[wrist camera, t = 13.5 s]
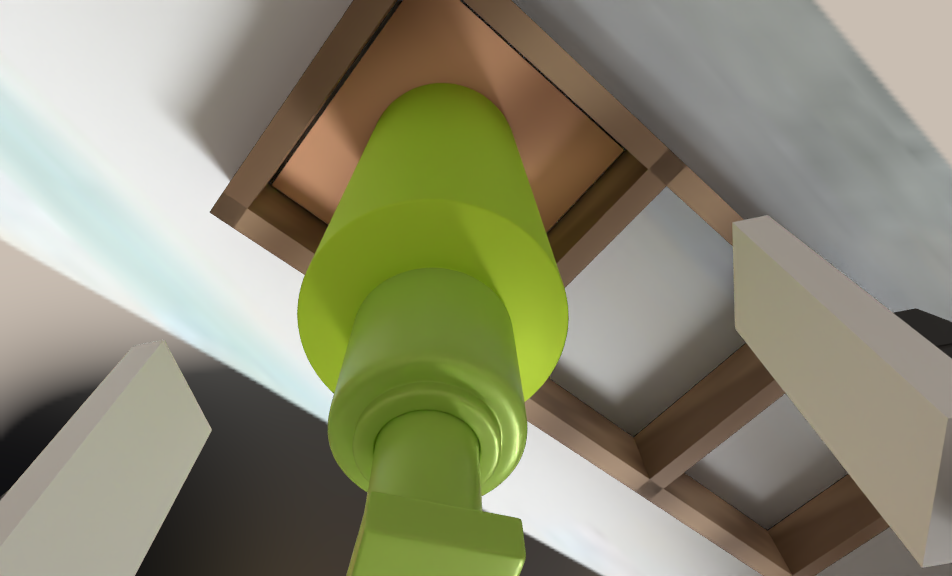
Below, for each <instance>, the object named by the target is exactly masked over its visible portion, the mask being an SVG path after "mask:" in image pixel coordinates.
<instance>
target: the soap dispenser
mask: <svg viewBox="0 0 952 576" xmlns="http://www.w3.org/2000/svg"><path fill="white" fill-rule="evenodd" d="M297 318H298V328H299V334H300V338H301V342H302V345H303V348H304V351H305V353H306V356H307V358H308V360H309V362H310V364H311V366H312V367H313V369H314V370H315V372H316V374H317V375H318V376H319V378H320V379H321V380H322V382H323V383H324V384H325V385H326V386H327V387H328V388H329V389H330V390H331V391H332V392H333V393H334V396H333V400H332V403H331V407H330V412H329V417H328V438H329V444H330V448H331V451H332V453H333V455H334V458H335V460H336V462H337V463H338V465H339V466H340V468H341V469H342V470H343V472H344V473H345V474H346V475H347V476H348V477H349V478H350V479H351V480H352V481H353V482H354V483H355V484H356V485H358V486H359V487H361V488H362V489H363V490H365V491H366V492H368V493H367V500H366V506H365V512H364V516H363V519H362V523H361V526H360V530H359V533H358V537H357V540H356V544H355V547H354V551H353V554H352V558H351V561H350V565H349V568H348V572H347V576H519V574H520V572H521V569H522V567H523V564H524V562H525V559H526V552H525V544H524V535H523V527H522V521H521V519H519V518H515V517H510V516H504V515H499V514H494V513H488V512H483V511H482V497H481V496H483V495H485V494H487V493H488V492H490V491H491V490H493V489H494V488H496V487H497V486H498V485H500V484H501V483H502V482H503V481H504V480H505V479H506V478H507V477H508V476H509V475H510V474H511V473H512V471H513V470H514V469H515V467H516V466H517V464H518V463H519V461H520V459H521V457H522V454H523V452H524V449H525V445H526V439H527V416H526V408H525V401H527V400H528V399H529V398H530V397H531V396H532V395H533V394H535V393H536V392H537V391H538V390H539V388H540V387H541V386H542V385H543V384H544V383H545V381H546V380H547V379H548V377H549V376H550V375H551V373H552V371H553V370H554V368H555V366H556V364H557V363H558V360H559V358H560V356H561V353H562V351H563V348H564V345H565V341H566V336H567V330H568V303H567V297H566V292H565V288H564V285H563V282H562V279H561V276H560V273H559V270H558V267H557V264H556V261H555V258H554V255H553V252H552V249H551V246H550V243H549V240H548V237H547V234H546V231H545V228H544V225H543V222H542V219H541V216H540V213H539V210H538V207H537V204H536V201H535V198H534V195H533V192H532V190H531V187H530V184H529V181H528V178H527V175H526V172H525V169H524V166H523V163H522V160H521V157H520V154H519V151H518V148H517V145H516V142H515V139H514V136H513V133H512V130H511V128H510V126H509V124H508V122H507V120H506V118H505V117H504V115H503V114H502V112H501V111H500V110H499V109H498V108H497V107H496V106H495V105H494V104H493V103H492V102H491V101H490V100H489V99H488V98H486V97H485V96H483V95H482V94H480V93H478V92H477V91H475V90H472V89H470V88H468V87H465V86H461V85H457V84H451V83H433V84H427V85H423V86H420V87H417V88H414V89H412V90H410V91H408V92H406V93H404V94H403V95H401V96H400V97H398V98H397V99H396V100H394V101H393V102H392V103H391V104H390V105H389V106H388V107H387V109H386V110H385V111H384V112H383V114H382V115H381V117H380V118H379V120H378V122H377V124H376V126H375V128H374V130H373V133H372V135H371V137H370V139H369V141H368V143H367V145H366V147H365V149H364V152H363V154H362V156H361V158H360V160H359V162H358V164H357V166H356V168H355V170H354V173H353V175H352V177H351V179H350V181H349V183H348V185H347V187H346V189H345V191H344V194H343V196H342V198H341V200H340V202H339V204H338V206H337V208H336V210H335V212H334V215H333V217H332V219H331V221H330V223H329V225H328V227H327V229H326V231H325V233H324V236H323V238H322V240H321V242H320V244H319V246H318V248H317V250H316V252H315V255H314V257H313V259H312V261H311V263H310V265H309V267H308V269H307V271H306V274H305V276H304V279H303V282H302V285H301V289H300V293H299V299H298V310H297Z"/></svg>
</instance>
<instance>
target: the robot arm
mask: <svg viewBox="0 0 952 576" xmlns="http://www.w3.org/2000/svg"><path fill="white" fill-rule="evenodd" d="M732 230H733V269H734V309H735V329H736V330H737V332H738V333H739V334H740V336H741V337H742V338H743V339H744V341H745V342H746V343H747V345H748V346H749V347H750V348H751V350H752V351H753V352H754V353H755V355H756V356H757V357H758V359H759V360H760V361H761V362H762V364H763V365H764V366H765V368H766V369H767V370H768V371H769V373H770V374H771V375H772V377H773V378H774V379H775V380H776V382H777V383H778V384H779V385H780V387H781V388H782V389H783V391H784V392H785V393H786V394H787V396H788V397H789V398H790V400H791V401H792V402H793V403H794V405H795V406H796V407H797V408H798V410H799V411H800V412H801V414H802V415H803V416H804V417H805V419H806V420H807V421H808V423H809V424H810V425H811V426H812V428H813V429H814V430H815V432H816V433H817V434H818V435H819V437H820V438H821V439H822V440H823V442H824V443H825V444H826V446H827V447H828V448H829V449H830V451H831V452H832V453H833V455H834V456H835V457H836V458H837V460H838V461H839V462H840V464H841V465H842V466H843V467H844V469H845V470H846V471H847V472H848V474H849V475H850V476H851V478H852V479H853V480H854V481H855V483H856V484H857V485H858V487H859V488H860V489H861V490H862V492H863V493H864V494H865V495H866V497H867V498H868V499H869V501H870V502H871V503H872V504H873V506H874V507H875V508H876V510H877V511H878V512H879V513H880V515H881V516H882V517H883V519H884V520H885V521H886V522H887V524H888V525H889V526H890V527H891V529H892V530H893V531H894V533H895V534H896V535H897V536H898V538H899V539H900V540H901V542H902V543H903V544H904V545H905V547H906V548H907V549H908V551H909V552H910V553H911V554H912V556H913V557H914V558H915V559H916V561H917V562H918V563H919V565H920V566H921V567H922V568H925V567H931V566H937V565H943V564H949V563H952V323H951V322H950V321H948V320H945V319H942V318H940V317H937V316H934V315H932V314H929V313H927V312H924V311H921V310H919V309H911V310H906V311H900V312H895V313H893V312H891V311H890V310H889V309H887V308H886V307H885V306H884V305H882V304H881V303H880V302H878V301H877V300H876V299H875V298H873V297H872V296H871V295H870V294H868V293H867V292H866V291H864V290H863V289H862V288H861V287H859V286H858V285H857V284H855V283H854V282H853V281H852V280H850V279H849V278H848V277H846V276H845V275H844V274H843V273H841V272H840V271H839V270H838V269H836V268H835V267H834V266H832V265H831V264H830V263H829V262H827V261H826V260H825V259H823V258H822V257H821V256H820V255H818V254H817V253H816V252H815V251H813V250H812V249H811V248H809V247H808V246H807V245H806V244H804V243H803V242H802V241H800V240H799V239H798V238H797V237H795V236H794V235H793V234H791V233H790V232H789V231H788V230H786V229H785V228H784V227H783V226H781V225H780V224H779V223H777V222H776V221H775V220H774V219H772V218H771V217H770V216H768V215H766V216H761V217H756V218H751V219H746V220H741V221H736V222H732ZM210 432H211V428H210V426H209V424H208V422H207V420H206V418H205V416H204V414H203V413H202V411H201V409H200V407H199V405H198V403H197V401H196V399H195V397H194V396H193V394H192V392H191V390H190V388H189V386H188V384H187V382H186V380H185V378H184V377H183V375H182V373H181V371H180V369H179V367H178V365H177V363H176V361H175V359H174V357H173V355H172V354H171V352H170V350H169V348H168V346H167V344H166V342H165V340H159V341H154V342H149V343H144V344H140V345H135V346H133V347H132V348H131V349H130V350H129V351H128V352H127V354H126V355H125V356H124V357H123V358H122V359H121V361H120V362H119V363H118V364H117V365H116V366H115V368H114V369H113V370H112V371H111V372H110V373H109V375H108V376H107V377H106V378H105V379H104V380H103V382H102V383H101V384H100V385H99V386H98V387H97V388H96V390H95V391H94V392H93V393H92V394H91V395H90V397H89V398H88V399H87V400H86V401H85V402H84V404H83V405H82V406H81V407H80V408H79V409H78V411H77V412H76V413H75V414H74V415H73V416H72V418H71V419H70V420H69V421H68V422H67V424H66V425H65V426H64V427H63V428H62V429H61V431H60V432H59V433H58V434H57V435H56V436H55V437H54V439H53V440H52V441H51V442H50V443H49V445H48V446H47V447H46V448H45V449H44V450H43V452H42V453H41V454H40V455H39V456H38V457H37V458H36V460H35V461H34V462H33V463H32V464H31V465H30V466H29V468H28V469H27V470H26V471H25V472H24V473H23V475H22V476H21V477H20V478H19V479H18V480H17V482H16V483H15V484H14V485H13V486H12V487H11V489H10V490H8V491H7V492H6V493H5V494H4V495H2V496H1V497H0V576H135V574H136V572H137V570H138V568H139V566H140V564H141V563H142V561H143V559H144V557H145V555H146V553H147V551H148V549H149V547H150V546H151V544H152V542H153V540H154V538H155V536H156V534H157V532H158V531H159V528H160V527H161V525H162V523H163V521H164V519H165V517H166V515H167V514H168V512H169V510H170V508H171V506H172V504H173V502H174V500H175V499H176V497H177V495H178V493H179V491H180V489H181V487H182V485H183V483H184V481H185V480H186V478H187V476H188V474H189V472H190V470H191V468H192V466H193V464H194V463H195V461H196V459H197V457H198V455H199V453H200V451H201V449H202V448H203V446H204V444H205V442H206V440H207V438H208V436H209V434H210Z"/></svg>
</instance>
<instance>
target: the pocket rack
mask: <svg viewBox="0 0 952 576" xmlns="http://www.w3.org/2000/svg"><path fill="white" fill-rule="evenodd" d="M397 1H398V0H353V2H352V3H351V5H350V6H349V8H348V9H347V11H346V12H345V13H344V15H343V16H342V18H341V19H340V21H339V22H338V24H337V25H336V27H335V28H334V30H333V31H332V33H331V34H330V36H329V37H328V39H327V40H326V41H325V43H324V44H323V46H322V47H321V49H320V50H319V52H318V53H317V55H316V56H315V58H314V59H313V61H312V62H311V64H310V65H309V66H308V68H307V69H306V71H305V72H304V74H303V75H302V77H301V78H300V80H299V81H298V83H297V84H296V86H295V87H294V89H293V90H292V91H291V93H290V94H289V96H288V97H287V99H286V100H285V102H284V103H283V105H282V106H281V108H280V109H279V111H278V112H277V114H276V115H275V116H274V118H273V119H272V121H271V122H270V124H269V125H268V127H267V128H266V130H265V131H264V133H263V134H262V136H261V137H260V139H259V140H258V142H257V143H256V144H255V146H254V147H253V149H252V150H251V152H250V153H249V155H248V156H247V158H246V159H245V161H244V162H243V164H242V165H241V167H240V168H239V169H238V171H237V172H236V174H235V175H234V177H233V178H232V180H231V181H230V183H229V184H228V186H227V187H226V189H225V190H224V192H223V193H222V194H221V196H220V197H219V199H218V200H217V202H216V203H215V205H214V206H213V208H212V209H211V211H210V213H211V214H213V215H214V216H216V217H217V218H219V219H220V220H222V221H223V222H225V223H226V224H228V225H229V226H231V227H232V228H234V229H236V230H237V231H239V232H240V233H242V234H243V235H245V236H246V237H248V238H249V239H251V240H252V241H254V242H255V243H257V244H258V245H260V246H261V247H263V248H264V249H266V250H268V251H269V252H271V253H272V254H274V255H275V256H277V257H278V258H280V259H281V260H283V261H284V262H286V263H287V264H289V265H290V266H292V267H293V268H295V269H296V270H298V271H300V272H301V273H303V274H304V275H305V274H306V271H307V269H308V267H309V265H310V263H311V261H312V259H313V257H314V255H315V252H316V250H317V248H318V246H319V244H320V242H321V240H322V238H323V236H324V233H325V231H326V229H327V227H328V225H329V223H330V221H331V219H332V217H333V215H334V212H335V210H336V208H337V206H338V204H339V202H340V200H341V198H342V196H343V194H344V191H345V189H346V187H347V185H348V183H349V181H350V179H351V177H352V175H353V173H354V170H355V168H356V166H357V164H358V162H359V160H360V158H361V156H362V154H363V152H364V149H365V147H366V145H367V143H368V141H369V139H370V137H371V135H372V133H373V130H374V128H375V126H376V124H377V122H378V120H379V118H380V117H381V115H382V114H383V112H384V111H385V110H386V109H387V107H388V106H389V105H390V104H391V103H392V102H393V101H394V100H396V99H397V98H398V97H400V96H401V95H403V94H404V93H406V92H408V91H410V90H412V89H414V88H417V87H420V86H423V85H427V84H433V83H451V84H457V85H461V86H465V87H468V88H470V89H472V90H475V91H477V92H478V93H480V94H482V95H483V96H485V97H486V98H488V99H489V100H490V101H491V102H492V103H493V104H494V105H495V106H496V107H497V108H498V109H499V110H500V111H501V112H502V114H503V115H504V117H505V118H506V120H507V122H508V124H509V126H510V128H511V130H512V133H513V136H514V139H515V142H516V145H517V148H518V151H519V154H520V157H521V160H522V163H523V166H524V169H525V172H526V175H527V178H528V181H529V184H530V187H531V190H532V192H533V195H534V198H535V201H536V204H537V207H538V210H539V213H540V216H541V219H542V222H543V225H544V228H545V231H546V233H547V232H548V231H549V230H550V229H551V230H550V231H549V232H548V233H547V237H548V240H549V243H550V246H551V249H552V252H553V255H554V258H555V261H556V264H557V267H558V270H559V273H560V276H561V279H562V282H563V285H564V288H565V287H566V286H567V285H568V284H569V283H570V282H571V281H572V280H573V279H574V278H575V277H576V276H577V275H578V274H579V273H580V272H581V271H582V270H583V269H584V268H585V267H586V266H587V265H588V264H589V263H590V262H591V261H592V260H593V259H594V258H595V257H596V256H597V255H598V254H599V253H600V252H601V251H602V250H603V249H604V248H605V247H606V246H607V245H608V244H609V243H610V242H611V241H612V240H613V239H614V238H615V237H616V236H617V235H618V234H619V233H620V232H621V231H622V230H623V229H624V228H625V227H626V226H627V225H628V224H629V223H630V222H631V221H632V220H633V219H634V218H635V217H636V216H637V215H638V214H639V213H640V212H641V211H642V210H643V209H644V208H645V207H646V206H647V205H648V204H649V203H650V202H651V201H652V200H653V199H654V198H655V197H656V196H657V195H658V194H659V193H660V192H661V191H662V190H663V189H664V188H665V187H666V186H667V187H668V188H669V189H670V190H672V191H673V192H674V193H675V194H676V195H677V196H678V197H679V198H680V199H681V200H682V201H684V202H685V203H686V204H687V205H688V206H689V207H690V208H691V209H692V210H693V211H695V212H696V213H697V214H698V215H699V216H700V217H701V218H702V219H703V220H704V221H706V222H707V223H708V224H709V225H710V226H711V227H712V228H713V229H714V230H715V231H716V232H718V233H719V234H720V235H721V236H722V237H723V238H724V239H725V240H726V241H727V242H729V243H730V244H731V245H732V246H733V230H732V222H736V221H741V220H744V219H743V218H742V217H741V216H740V215H739V214H738V213H736V212H735V211H734V210H733V209H732V208H731V207H730V206H729V205H728V204H727V203H726V202H725V201H724V200H723V199H722V198H721V197H720V196H718V195H717V194H716V193H715V192H714V191H713V190H712V189H711V188H710V187H709V186H708V185H707V184H706V183H705V182H704V181H703V180H701V179H700V178H699V177H698V176H697V175H696V174H695V173H694V172H693V171H692V170H691V169H690V168H689V167H688V166H687V165H686V164H684V163H683V162H682V161H681V160H680V159H679V158H678V157H677V156H676V155H675V154H674V153H673V152H672V151H671V150H670V149H669V148H668V147H666V146H665V145H664V144H663V143H662V142H661V141H660V140H659V139H658V138H657V137H656V136H655V135H654V134H653V133H652V132H651V131H649V130H648V129H647V128H646V127H645V126H644V125H643V124H642V123H641V122H640V121H639V120H638V119H637V118H636V117H635V116H634V115H632V114H631V113H630V112H629V111H628V110H627V109H626V108H625V107H624V106H623V105H622V104H621V103H620V102H619V101H618V100H617V99H616V98H614V97H613V96H612V95H611V94H610V93H609V92H608V91H607V90H606V89H605V88H604V87H603V86H602V85H601V84H600V83H599V82H597V81H596V80H595V79H594V78H593V77H592V76H591V75H590V74H589V73H588V72H587V71H586V70H585V69H584V68H583V67H582V66H580V65H579V64H578V63H577V62H576V61H575V60H574V59H573V58H572V57H571V56H570V55H569V54H568V53H567V52H566V51H565V50H564V49H562V48H561V47H560V46H559V45H558V44H557V43H556V42H555V41H554V40H553V39H552V38H551V37H550V36H549V35H548V34H547V33H545V32H544V31H543V30H542V29H541V28H540V27H539V26H538V25H537V24H536V23H535V22H534V21H533V20H532V19H531V18H530V17H528V16H527V15H526V14H525V13H524V12H523V11H522V10H521V9H520V8H519V7H518V6H517V5H516V4H515V3H514V2H513V1H512V0H463V1H464V2H465V3H466V4H467V5H469V6H470V7H471V8H472V9H473V10H474V11H475V12H476V13H477V14H478V15H480V16H481V17H482V18H483V19H484V20H485V21H486V22H487V23H488V24H489V25H490V26H492V27H493V28H494V29H495V30H496V31H497V32H498V33H499V34H500V35H501V36H503V37H504V38H505V39H506V40H507V41H508V42H509V43H510V44H511V45H512V46H514V47H515V48H516V49H517V50H518V51H519V52H520V53H521V54H522V55H523V56H524V57H526V58H527V59H528V60H529V61H530V62H531V63H532V64H533V65H534V66H535V67H537V68H538V69H539V70H540V71H541V72H542V73H543V74H544V75H545V76H546V77H548V78H549V79H550V80H551V81H552V82H553V83H554V84H555V85H556V86H557V87H559V88H560V89H561V90H562V91H563V92H564V93H565V94H566V95H567V96H568V97H569V98H571V99H572V100H573V101H574V102H575V103H576V104H577V105H578V106H579V107H580V108H582V109H583V110H584V111H585V112H586V113H587V114H588V115H589V116H590V117H591V118H593V119H594V120H595V121H596V122H597V123H598V124H599V125H600V126H601V127H602V128H603V129H605V130H606V131H607V132H608V133H609V134H610V135H611V136H612V137H613V138H614V139H616V140H617V141H618V142H619V143H620V144H621V145H622V146H623V147H624V148H625V149H626V150H625V151H624V149H623V148H622V147H620V146H619V145H618V144H617V143H616V142H615V141H614V140H613V139H612V138H611V137H609V136H608V135H607V134H606V133H605V132H604V131H603V130H602V129H601V128H600V127H598V126H597V125H596V124H595V123H594V122H593V121H592V120H591V119H590V118H589V117H587V116H586V115H585V114H584V113H583V112H582V111H581V110H580V109H579V108H578V107H576V106H575V105H574V104H573V103H572V102H571V101H570V100H569V99H568V98H567V97H565V96H564V95H563V94H562V93H561V92H560V91H559V90H558V89H557V88H556V87H554V86H553V85H552V84H551V83H550V82H549V81H548V80H547V79H546V78H545V77H543V76H542V75H541V74H540V73H539V72H538V71H537V70H536V69H535V68H534V67H532V66H531V65H530V64H529V63H528V62H527V61H526V60H525V59H524V58H523V57H521V56H520V55H519V54H518V53H517V52H516V51H515V50H514V49H513V48H512V47H510V46H509V45H508V44H507V43H506V42H505V41H504V40H503V39H502V38H501V37H499V36H498V35H497V34H496V33H495V32H494V31H493V30H492V29H491V28H490V27H488V26H487V25H486V24H485V23H484V22H483V21H482V20H481V19H480V18H479V17H477V16H476V15H475V14H474V13H473V12H472V11H471V10H470V9H469V8H468V7H466V6H465V5H464V4H463V3H462V2H461V1H460V0H403V1H402V2H401V4H400V5H399V6H398V8H397V9H396V11H395V12H394V13H393V15H392V16H391V18H390V19H389V21H388V22H387V23H386V25H385V26H384V28H383V29H382V30H381V32H380V33H379V35H378V36H377V37H376V39H375V40H374V42H373V43H372V44H371V46H370V47H369V49H368V50H367V51H366V53H365V54H364V56H363V57H362V58H361V60H360V61H359V63H358V64H357V66H356V67H355V68H354V70H353V71H352V73H351V74H350V75H349V77H348V78H347V80H346V81H345V82H344V84H343V85H342V87H341V88H340V89H339V91H338V92H337V94H336V95H335V96H334V98H333V99H332V101H331V102H330V103H329V105H328V106H327V108H326V109H325V111H324V112H323V113H322V115H321V116H320V118H319V119H318V120H317V122H316V123H315V125H314V126H313V127H312V129H311V130H310V132H309V133H308V134H307V136H306V137H305V139H304V140H303V141H302V143H301V144H300V146H299V147H298V148H297V150H296V151H295V153H294V154H293V156H292V157H291V158H290V160H289V161H288V163H287V164H286V165H285V167H284V168H283V170H282V171H281V172H280V174H279V175H278V177H277V178H276V179H275V181H274V182H273V184H272V185H270V184H269V181H270V180H271V179H272V177H273V176H274V174H275V173H276V172H277V170H278V169H279V167H280V166H281V165H282V163H283V162H284V160H285V159H286V157H287V156H288V155H289V153H290V152H291V150H292V149H293V148H294V146H295V145H296V143H297V142H298V140H299V139H300V138H301V136H302V135H303V133H304V132H305V131H306V129H307V128H308V126H309V125H310V124H311V122H312V121H313V119H314V118H315V116H316V115H317V114H318V112H319V111H320V109H321V108H322V107H323V105H324V104H325V102H326V101H327V100H328V98H329V97H330V95H331V94H332V92H333V91H334V90H335V88H336V87H337V85H338V84H339V83H340V81H341V80H342V78H343V77H344V76H345V74H346V73H347V71H348V70H349V68H350V67H351V66H352V64H353V63H354V61H355V60H356V59H357V57H358V56H359V54H360V53H361V51H362V50H363V49H364V47H365V46H366V44H367V43H368V42H369V40H370V39H371V37H372V36H373V35H374V33H375V32H376V30H377V29H378V27H379V26H380V25H381V23H382V22H383V20H384V19H385V18H386V16H387V15H388V13H389V12H390V11H391V9H392V8H393V6H394V5H395V3H396V2H397ZM623 151H624V152H623ZM622 152H623V153H622ZM621 153H622V154H621ZM620 154H621V155H620ZM619 155H620V156H619ZM618 156H619V157H618ZM617 157H618V159H617ZM616 159H617V160H616ZM615 160H616V161H615ZM614 161H615V162H614ZM613 162H614V163H613ZM612 163H613V164H612ZM611 164H612V165H611ZM610 165H611V166H610ZM609 166H610V167H609ZM608 167H609V168H608ZM607 168H608V169H607ZM606 169H607V170H606ZM605 170H606V171H605ZM604 171H605V172H604ZM603 172H604V173H603ZM602 173H603V174H602ZM601 174H602V175H601ZM600 176H601V177H600ZM599 177H600V178H599ZM598 178H599V179H598ZM597 179H598V180H597ZM596 180H597V181H596ZM595 181H596V182H595ZM594 182H595V183H594ZM593 183H594V184H593ZM592 184H593V185H592ZM591 185H592V186H591ZM273 186H274V187H273ZM590 186H591V187H590ZM589 187H590V188H589ZM276 188H277V189H276ZM588 188H589V189H588ZM587 189H588V190H587ZM279 190H280V191H281V192H280V191H279ZM586 190H587V191H586ZM585 191H586V192H585ZM282 192H283V193H284V194H283V193H282ZM584 192H585V194H584ZM583 194H584V195H583ZM286 195H287V196H286ZM582 195H583V196H582ZM581 196H582V197H581ZM289 197H290V198H291V199H290V198H289ZM580 197H581V198H580ZM579 198H580V199H579ZM292 199H293V200H294V201H293V200H292ZM578 199H579V200H578ZM577 200H578V201H577ZM576 201H577V202H576ZM296 202H297V203H296ZM575 202H576V203H575ZM574 203H575V204H574ZM299 204H300V205H299ZM573 204H574V205H573ZM572 205H573V206H572ZM302 206H303V207H304V208H303V207H302ZM571 206H572V207H571ZM570 207H571V208H570ZM569 208H570V209H569ZM306 209H307V210H306ZM568 209H569V210H568ZM309 211H310V212H309ZM567 211H568V212H567ZM566 212H567V213H566ZM312 213H313V214H314V215H313V214H312ZM565 213H566V214H565ZM564 214H565V215H564ZM315 215H316V216H317V217H316V216H315ZM563 215H564V216H563ZM562 216H563V217H562ZM561 217H562V218H561ZM319 218H320V219H319ZM560 218H561V219H560ZM559 219H560V220H559ZM322 220H323V221H324V222H323V221H322ZM558 220H559V221H558ZM557 221H558V222H557ZM325 222H326V223H327V224H326V223H325ZM556 222H557V223H556ZM555 223H556V224H555ZM554 224H555V225H554ZM553 225H554V226H553ZM552 226H553V227H552ZM551 227H552V228H551ZM784 394H785V392H784V391H783V389H782V388H781V387H780V385H779V384H778V383H777V382H776V380H775V379H774V378H773V377H772V375H771V374H770V373H769V371H768V370H767V369H766V368H765V366H764V365H763V364H762V362H761V361H760V360H759V359H758V357H757V356H756V355H755V353H754V352H753V351H752V350H751V348H750V347H749V346H748V345H747V343H745V344H744V345H743V346H742V347H741V348H739V349H738V350H737V351H736V352H735V353H733V354H732V355H731V356H730V357H729V358H728V359H726V360H725V361H724V362H723V363H722V364H720V365H719V366H718V367H717V368H716V369H714V370H713V371H712V372H711V373H710V374H708V375H707V376H706V377H705V378H704V379H703V380H701V381H700V382H699V383H698V384H697V385H695V386H694V387H693V388H692V389H691V390H689V391H688V392H687V393H686V394H685V395H683V396H682V397H681V398H680V399H679V400H678V401H676V402H675V403H674V404H673V405H672V406H670V407H669V408H668V409H667V410H666V411H664V412H663V413H662V414H661V415H660V416H658V417H657V418H656V419H655V420H654V421H652V422H651V423H650V424H649V425H648V426H647V427H645V428H644V429H643V430H642V431H641V432H639V433H638V434H637V435H636V436H635V437H632V436H631V435H629V434H628V433H626V432H625V431H624V430H622V429H621V428H619V427H618V426H616V425H615V424H614V423H612V422H611V421H609V420H608V419H606V418H605V417H603V416H602V415H601V414H599V413H598V412H596V411H595V410H593V409H592V408H591V407H589V406H588V405H586V404H585V403H583V402H582V401H581V400H579V399H578V398H576V397H575V396H573V395H572V394H570V393H569V392H568V391H566V390H565V389H563V388H562V387H560V386H559V385H558V384H556V383H555V382H553V381H552V380H550V379H549V378H548V379H547V380H546V381H545V383H544V384H543V385H542V386H541V387H540V388H539V390H538V391H537V392H536V393H535V394H533V395H532V396H531V397H530V398H529V399H528V400H527V401H525V408H526V416H527V421H528V422H530V423H531V424H533V425H534V426H536V427H537V428H539V429H540V430H542V431H543V432H545V433H547V434H548V435H550V436H551V437H553V438H554V439H556V440H557V441H559V442H560V443H562V444H563V445H565V446H566V447H568V448H569V449H571V450H572V451H574V452H575V453H577V454H579V455H580V456H582V457H583V458H585V459H586V460H588V461H589V462H591V463H592V464H594V465H595V466H597V467H598V468H600V469H601V470H603V471H604V472H606V473H608V474H609V475H611V476H612V477H614V478H615V479H617V480H618V481H620V482H621V483H623V484H624V485H626V486H627V487H629V488H630V489H632V490H633V491H635V492H636V493H638V494H640V495H641V496H643V497H644V498H646V499H647V500H649V501H650V502H652V503H653V504H655V505H656V506H658V507H659V508H661V509H662V510H664V511H665V512H667V513H669V514H670V515H672V516H673V517H675V518H676V519H678V520H679V521H681V522H682V523H684V524H685V525H687V526H688V527H690V528H691V529H693V530H694V531H696V532H697V533H699V534H701V535H702V536H704V537H705V538H707V539H708V540H710V541H711V542H713V543H714V544H716V545H717V546H719V547H720V548H722V549H723V550H725V551H726V552H728V553H729V554H731V555H733V556H734V557H736V558H737V559H739V560H740V561H742V562H743V563H745V564H746V565H748V566H749V567H751V568H752V569H754V570H755V571H757V572H758V573H760V574H762V575H763V576H815V575H816V574H818V573H819V572H821V571H822V570H824V569H825V568H827V567H829V566H830V565H832V564H833V563H835V562H836V561H838V560H839V559H841V558H842V557H844V556H846V555H847V554H849V553H850V552H852V551H853V550H855V549H856V548H858V547H859V546H861V545H862V544H864V543H866V542H867V541H869V540H870V539H872V538H873V537H875V536H876V535H878V534H879V533H881V532H882V531H884V530H886V529H887V528H889V527H890V526H889V525H888V524H887V522H886V521H885V520H884V519H883V517H882V516H881V515H880V513H879V512H878V511H877V510H876V508H875V507H874V506H873V504H872V503H871V502H870V501H869V499H868V498H867V497H866V495H865V494H864V493H863V492H862V490H861V489H860V488H859V487H858V485H857V484H856V483H855V481H854V480H853V479H852V478H851V476H850V475H849V474H848V475H846V476H845V477H844V478H842V479H841V480H839V481H838V482H836V483H835V484H834V485H832V486H831V487H829V488H828V489H826V490H825V491H824V492H822V493H821V494H819V495H818V496H816V497H815V498H814V499H812V500H811V501H809V502H808V503H806V504H805V505H804V506H802V507H801V508H799V509H798V510H796V511H795V512H794V513H792V514H791V515H789V516H788V517H786V518H785V519H784V520H782V521H781V522H779V523H778V524H776V525H775V526H774V527H772V528H771V529H769V530H768V531H767V530H766V529H764V528H763V527H761V526H760V525H759V524H757V523H756V522H754V521H753V520H751V519H750V518H748V517H747V516H746V515H744V514H743V513H741V512H740V511H738V510H737V509H736V508H734V507H733V506H731V505H730V504H728V503H727V502H726V501H724V500H723V499H721V498H720V497H718V496H717V495H715V494H714V493H713V492H711V491H710V490H708V489H707V488H705V487H704V486H703V485H701V484H700V483H698V482H697V481H695V480H694V479H693V478H691V477H690V476H688V475H687V474H685V473H684V472H686V471H687V470H688V469H689V468H691V467H692V466H693V465H694V464H696V463H697V462H698V461H700V460H701V459H702V458H703V457H705V456H706V455H707V454H708V453H710V452H711V451H712V450H714V449H715V448H716V447H717V446H719V445H720V444H721V443H723V442H724V441H725V440H726V439H728V438H729V437H730V436H731V435H733V434H734V433H735V432H737V431H738V430H739V429H740V428H742V427H743V426H744V425H745V424H747V423H748V422H749V421H751V420H752V419H753V418H754V417H756V416H757V415H758V414H760V413H761V412H762V411H763V410H765V409H766V408H767V407H768V406H770V405H771V404H772V403H774V402H775V401H776V400H777V399H779V398H780V397H781V396H782V395H784Z"/></svg>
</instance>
